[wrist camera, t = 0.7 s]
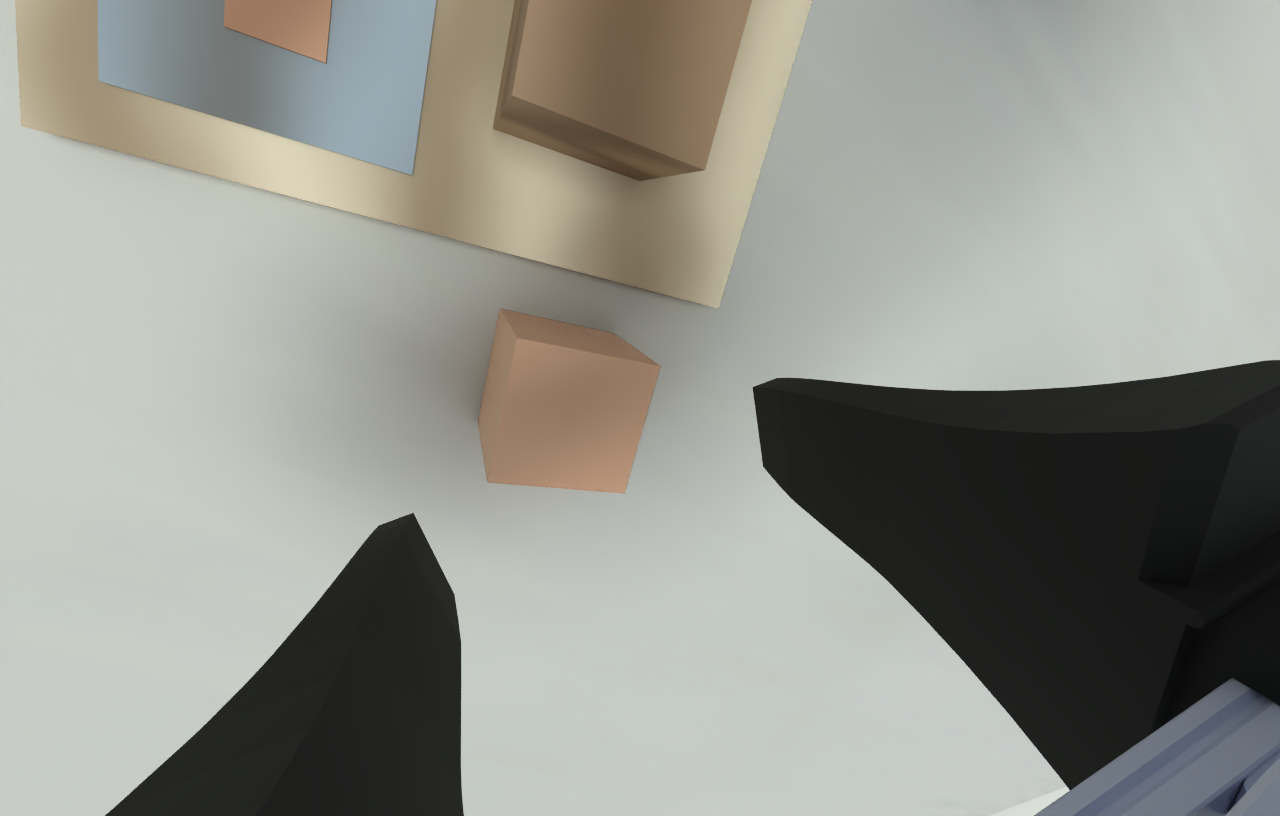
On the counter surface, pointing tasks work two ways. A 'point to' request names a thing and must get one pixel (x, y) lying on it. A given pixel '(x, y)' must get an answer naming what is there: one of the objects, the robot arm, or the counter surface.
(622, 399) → the terracotta block
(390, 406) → the counter surface
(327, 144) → the baseplate
